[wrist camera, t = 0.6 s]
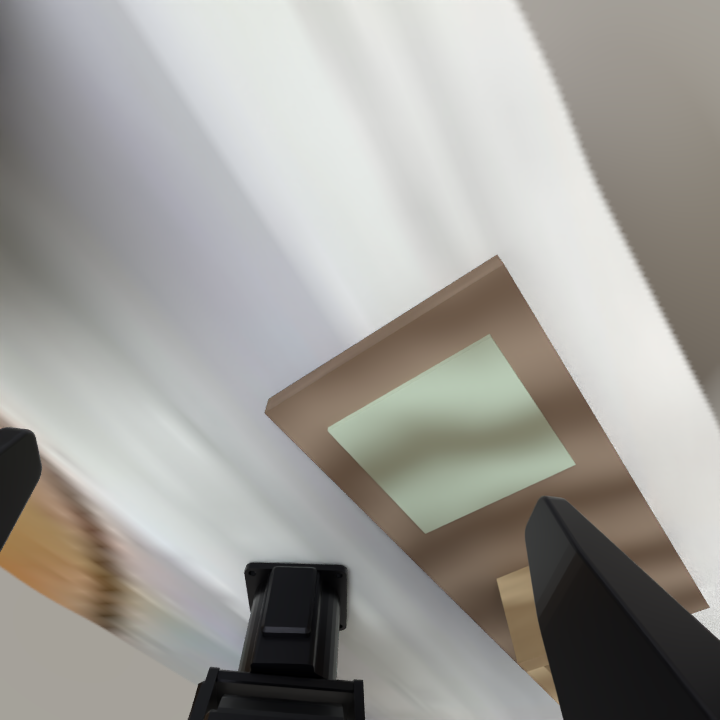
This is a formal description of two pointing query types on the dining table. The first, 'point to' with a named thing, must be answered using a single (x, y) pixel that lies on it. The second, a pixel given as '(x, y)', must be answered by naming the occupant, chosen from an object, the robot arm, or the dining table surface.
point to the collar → (525, 627)
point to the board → (470, 443)
